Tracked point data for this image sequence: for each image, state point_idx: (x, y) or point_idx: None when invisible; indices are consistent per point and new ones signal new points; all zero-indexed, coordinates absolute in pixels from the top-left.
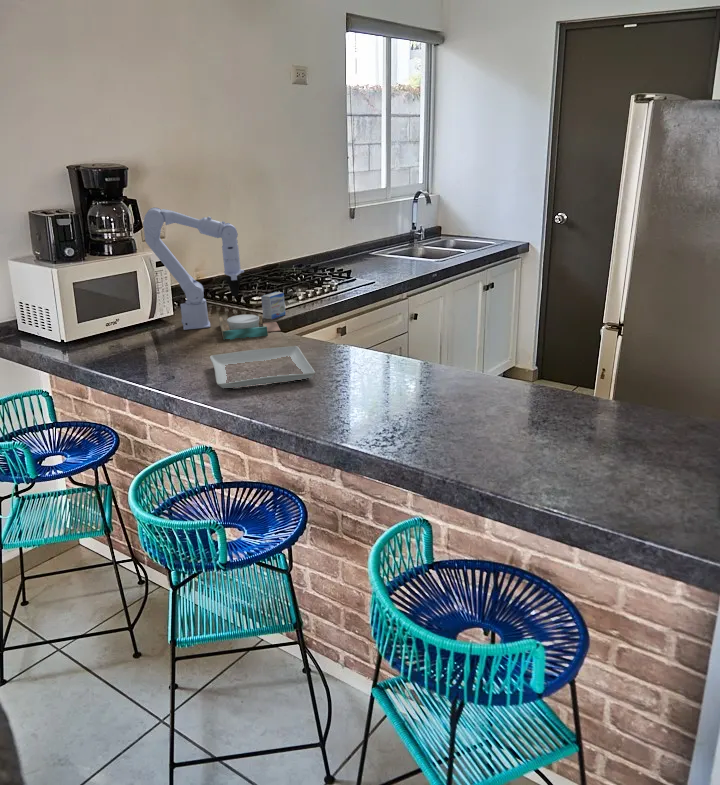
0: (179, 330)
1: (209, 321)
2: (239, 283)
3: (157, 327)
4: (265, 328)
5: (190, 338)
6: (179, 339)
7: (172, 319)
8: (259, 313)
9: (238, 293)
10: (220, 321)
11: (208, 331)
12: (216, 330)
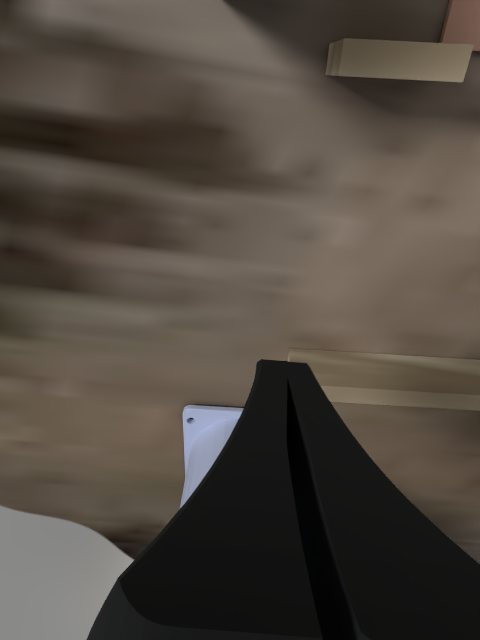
0: None
1: (199, 409)
2: (432, 526)
3: None
4: None
5: (459, 494)
6: (440, 524)
7: (62, 518)
8: (344, 54)
9: (319, 384)
10: (412, 405)
11: (384, 424)
12: None
